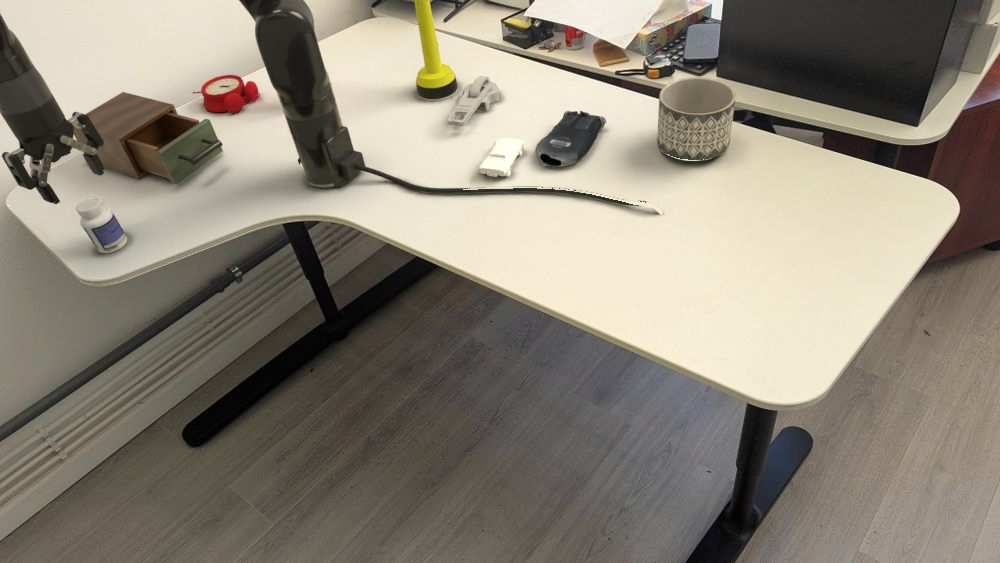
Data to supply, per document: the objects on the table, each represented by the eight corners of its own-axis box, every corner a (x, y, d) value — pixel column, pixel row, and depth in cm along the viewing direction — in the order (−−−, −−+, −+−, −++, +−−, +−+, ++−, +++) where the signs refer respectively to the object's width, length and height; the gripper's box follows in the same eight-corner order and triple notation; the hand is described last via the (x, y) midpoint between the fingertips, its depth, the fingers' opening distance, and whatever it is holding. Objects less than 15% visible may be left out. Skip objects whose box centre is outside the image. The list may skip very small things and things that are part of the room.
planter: (722, 171, 125) (729, 118, 118) (649, 161, 129) (651, 110, 122) (733, 132, 133) (740, 80, 126) (665, 124, 138) (668, 74, 130)
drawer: (240, 156, 143) (227, 123, 138) (193, 190, 136) (178, 158, 131) (174, 137, 152) (159, 106, 147) (127, 169, 144) (109, 138, 139)
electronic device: (559, 129, 143) (526, 161, 132) (563, 103, 139) (530, 134, 129) (603, 143, 140) (573, 177, 129) (608, 117, 136) (578, 149, 126)
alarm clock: (218, 71, 166) (260, 66, 158) (232, 96, 170) (274, 93, 161) (184, 93, 160) (226, 89, 152) (200, 118, 163) (241, 116, 155)
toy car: (527, 147, 137) (526, 131, 135) (505, 183, 129) (503, 168, 127) (500, 143, 139) (498, 128, 136) (477, 180, 131) (475, 164, 128)
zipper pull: (438, 133, 144) (435, 114, 141) (470, 88, 156) (467, 70, 153) (475, 137, 141) (472, 118, 138) (505, 91, 153) (503, 72, 150)
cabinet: (191, 143, 151) (173, 104, 145) (139, 179, 143) (118, 139, 137) (142, 129, 157) (122, 91, 151) (90, 163, 149) (67, 124, 143)
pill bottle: (134, 235, 129) (110, 195, 123) (117, 254, 126) (92, 214, 119) (108, 234, 130) (83, 194, 124) (91, 253, 127) (65, 213, 121)
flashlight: (425, -17, 135) (448, -35, 141) (385, -20, 138) (408, -38, 144) (445, 103, 152) (465, 83, 158) (409, 98, 155) (429, 78, 161)
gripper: (-5, 128, 103) (54, 218, 114) (79, 81, 111) (127, 169, 122) (-35, 118, 106) (26, 206, 117) (50, 73, 114) (98, 160, 125)
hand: (77, 187), depth 120 cm, fingers open, 8 cm apart
